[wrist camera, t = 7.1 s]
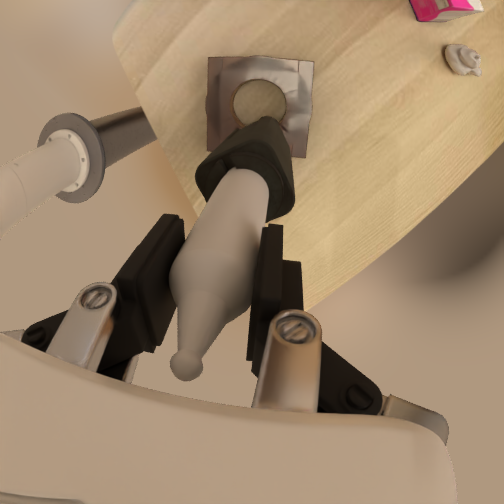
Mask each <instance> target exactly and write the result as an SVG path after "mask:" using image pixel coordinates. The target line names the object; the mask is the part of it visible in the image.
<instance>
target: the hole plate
mask: <svg viewBox="0 0 504 504" xmlns="http://www.w3.org/2000/svg"><path fill="white" fill-rule="evenodd" d="M313 72H314V62H312V61H304V60H294V59H283V58H273V57H268V56H249V57H208V82H207V96H206V114H207V151H210V152H213V151H214V150H215V149H216V148H217V147H218V146H219V145H220V144H221V143H222V142H223V141H224V140H225V139H226V138H227V137H228V136H229V135H230V134H231V133H232V132H233V131H234V130H236V129H237V128H239V129H241V128H243V127H246V126H245V125H244V124H243V123H241V121H240V120H239V119H238V118H237V116H236V115H235V112H234V108H233V100H234V96H235V94H236V92H237V90H238V89H239V88H240V87H241V86H242V85H243V84H245V83H247V82H249V81H252V80H257V79H261V80H267V81H270V82H272V83H274V84H275V85H277V86H278V87H279V88H280V89H281V91H282V92H283V94H284V96H285V98H286V104H287V106H286V112H285V114H284V116H283V118H282V119H281V121H280V122H279V123H278V124H279V126H280V128H281V130H282V132H283V134H284V136H285V138H286V141H287V143H288V145H289V147H290V151H291V156H292V157H298V158H306V150H307V140H308V130H309V122H310V119H311V115H312V98H311V97H312V85H313Z"/></svg>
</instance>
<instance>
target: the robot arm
mask: <svg viewBox="0 0 504 504" xmlns="http://www.w3.org/2000/svg"><path fill="white" fill-rule="evenodd" d="M89 169H90V161H89V154H88V150H87V148H86V145H85V143H84V142H83V140H82V139H81V138H80V136H79V135H78V134H76V133H75V132H74V131H72V130H69V129H60V130H57V131H55V132H53V133H52V134H51V135H50V136H49V137H48V138H47V140H46V142H45V144H44V145H42V146H40V147H38V148H36V149H34V150H31V151H30V152H27V153H25V154H23V155H21V156H19V157H18V158H16V159H14V160H12V161H10V162H8V163H6V164H4V165H3V166H1V167H0V239H1V238H2V237H3V236H4V235H5V234H6V233H7V232H8V231H9V230H11V229H12V228H13V227H14V226H15V225H16V224H18V223H19V222H20V221H21V220H22V219H24V218H25V217H26V216H28V215H29V214H30V213H32V212H33V211H34V210H35V209H37V208H38V207H39V206H41V205H42V204H43V203H45V202H46V201H48V200H49V199H50V198H52V197H53V196H55V195H56V194H57V193H59V192H60V191H64V192H73V191H75V190H77V189H79V188H80V187H81V186H82V185H83V184H84V183H85V181H86V180H87V177H88V174H89ZM184 242H185V233H184V221H183V219H179V216H178V215H174V214H163V215H162V216H161V218H160V219H159V220H158V221H157V223H156V224H155V225H154V226H153V228H152V229H151V230H150V232H149V233H148V234H147V236H146V237H145V238H144V239H143V241H142V242H141V243H140V244H139V245H138V246H137V247H136V249H135V250H134V251H133V253H132V254H131V256H130V257H129V258H128V260H127V261H126V262H125V264H124V265H123V266H122V268H121V269H120V271H119V272H118V273H117V275H116V276H115V278H114V279H113V281H112V282H111V283H106V282H97V283H92V284H90V285H88V286H86V287H85V288H83V289H82V290H81V291H80V293H79V294H78V295H77V297H76V298H75V300H74V302H73V304H72V305H71V307H70V309H69V310H66V311H64V312H62V313H59V314H56V315H54V316H51V317H49V318H46V319H44V320H42V321H39V322H37V323H35V324H33V325H31V326H30V327H29V328H28V329H26V331H25V330H24V329H23V330H14V331H6V332H0V504H458V497H457V488H456V481H455V476H454V470H453V467H452V463H451V459H450V456H449V453H448V451H447V448H446V443H447V439H448V434H449V427H448V423H447V421H446V419H445V418H444V417H443V416H442V415H440V414H439V413H437V412H434V411H431V410H429V409H426V408H423V407H421V406H418V405H416V404H413V403H410V402H408V401H406V400H403V399H401V398H398V397H396V396H393V395H391V394H390V396H389V397H387V396H384V395H382V394H381V391H380V390H379V388H378V387H377V385H376V384H374V382H372V381H371V380H370V379H369V378H367V377H366V376H365V375H363V374H362V373H361V372H360V371H358V370H357V369H356V368H355V367H353V366H352V365H351V364H350V363H348V362H347V361H346V360H345V359H343V358H342V357H341V356H340V355H338V354H337V353H336V352H335V351H333V350H332V349H331V348H330V347H328V346H327V345H326V344H325V343H324V342H322V329H321V325H320V323H319V322H318V320H317V319H316V318H315V317H314V316H313V315H311V314H309V313H307V312H305V311H304V308H303V288H302V270H301V262H299V261H290V260H283V225H278V224H269V225H268V227H262V233H261V239H260V246H259V253H258V259H257V266H256V272H255V279H254V286H253V292H252V301H251V312H250V323H249V334H248V347H247V357H246V360H247V361H252V369H251V371H252V373H253V374H254V375H255V376H256V377H257V378H258V381H257V385H256V389H255V393H254V398H253V402H252V406H251V408H247V407H240V406H232V405H226V404H219V403H213V402H207V401H202V400H197V399H191V398H187V397H182V396H177V395H172V394H168V393H164V392H160V391H156V390H152V389H148V388H144V387H141V386H137V385H133V384H131V383H132V379H133V375H134V372H135V369H136V366H137V362H138V358H139V357H138V356H139V354H140V353H142V352H143V351H145V352H150V353H154V350H155V348H156V346H160V345H161V344H162V341H163V339H164V336H165V334H166V331H167V329H168V327H169V324H170V322H171V319H172V317H173V314H174V311H175V309H176V307H177V305H176V303H175V301H174V299H173V296H172V293H171V289H170V286H169V272H170V269H171V267H172V264H173V262H174V260H175V258H176V257H177V255H178V253H179V251H180V249H181V247H182V246H183V244H184Z"/></svg>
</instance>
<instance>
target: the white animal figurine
mask: <svg viewBox="0 0 504 504" xmlns="http://www.w3.org/2000/svg"><path fill="white" fill-rule="evenodd" d="M445 56H446V60H447V62H448V63H449V65H450V67H451V69H452V70H454V71H455V72H456V73H457V74H458V75H465V74H467V73H469V74H472V75H475V76H481V74H482V70H481V69H480V68H479V66H480V63H481V56H480V54H478V53H477V52H476V51H475V50H473V49H470V48H468V47H467V46H465V45H462V44H450V45H448V46H447V48H446V50H445Z"/></svg>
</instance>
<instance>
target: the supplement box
mask: <svg viewBox="0 0 504 504" xmlns="http://www.w3.org/2000/svg"><path fill="white" fill-rule="evenodd" d="M409 1H410V3H411V6H412V8H413V10H414V13H415V15H416V18H417V20H418V21H420V22H447V21H450V20H453V19H456V18H460V17H463V16H467V15H471V14H475V13H479V12H484V9H483V7H482V5H481V2H480V0H409Z"/></svg>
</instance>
